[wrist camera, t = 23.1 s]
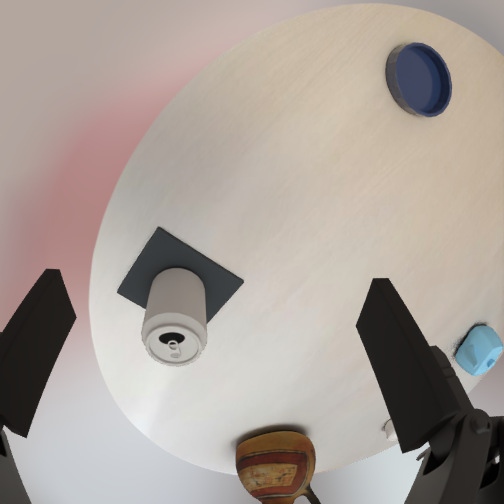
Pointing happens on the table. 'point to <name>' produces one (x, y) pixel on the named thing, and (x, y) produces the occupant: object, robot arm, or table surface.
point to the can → (175, 318)
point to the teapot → (479, 350)
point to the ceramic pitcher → (277, 467)
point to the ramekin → (390, 431)
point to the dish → (419, 79)
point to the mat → (178, 256)
